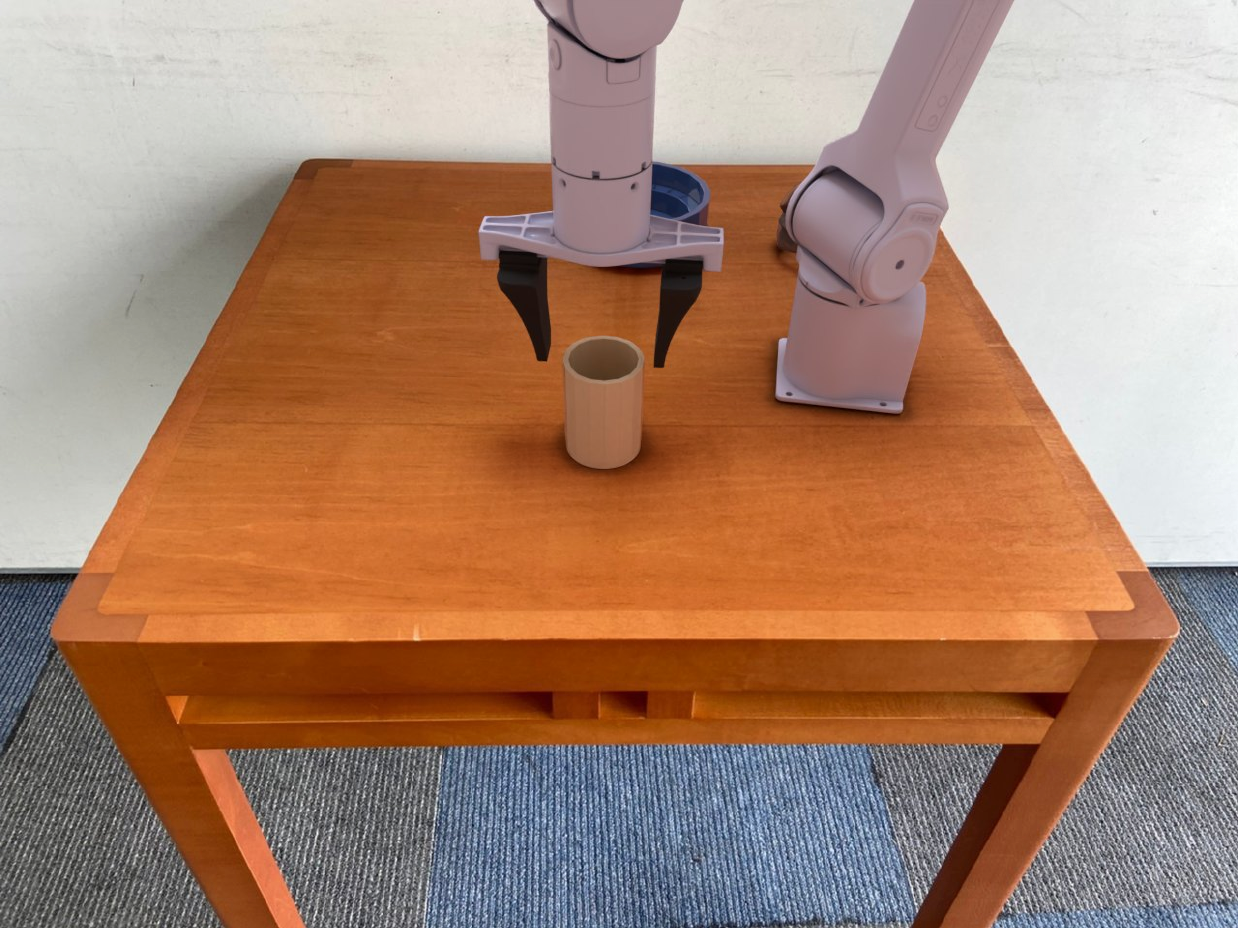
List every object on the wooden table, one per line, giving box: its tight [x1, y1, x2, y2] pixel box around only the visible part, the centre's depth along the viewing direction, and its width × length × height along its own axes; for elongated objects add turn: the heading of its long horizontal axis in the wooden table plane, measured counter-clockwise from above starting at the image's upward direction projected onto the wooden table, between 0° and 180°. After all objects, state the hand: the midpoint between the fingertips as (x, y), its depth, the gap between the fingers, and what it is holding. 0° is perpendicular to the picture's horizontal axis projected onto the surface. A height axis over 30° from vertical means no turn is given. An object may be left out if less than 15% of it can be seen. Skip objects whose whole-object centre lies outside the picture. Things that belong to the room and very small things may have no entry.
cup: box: [561, 335, 646, 470], centre depth 62 cm, size 5×5×8 cm
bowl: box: [618, 160, 712, 269], centre depth 85 cm, size 13×13×5 cm
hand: (601, 355), depth 60 cm, fingers open, 7 cm apart
